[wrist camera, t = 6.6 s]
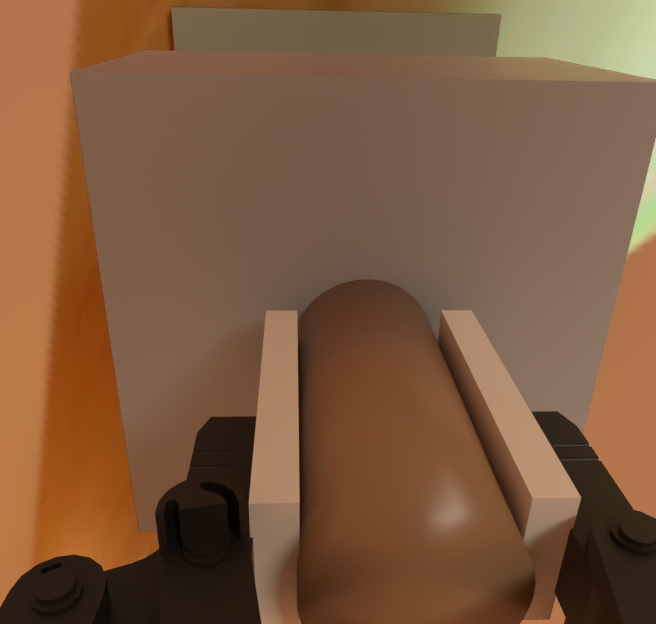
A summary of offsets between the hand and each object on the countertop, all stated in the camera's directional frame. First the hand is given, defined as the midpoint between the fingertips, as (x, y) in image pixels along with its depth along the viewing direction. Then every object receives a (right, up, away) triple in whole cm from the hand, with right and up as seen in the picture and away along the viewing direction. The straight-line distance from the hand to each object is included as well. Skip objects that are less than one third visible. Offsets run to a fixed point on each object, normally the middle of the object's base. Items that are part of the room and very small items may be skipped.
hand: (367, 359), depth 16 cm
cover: (0, +4, +8) cm, 9 cm away
